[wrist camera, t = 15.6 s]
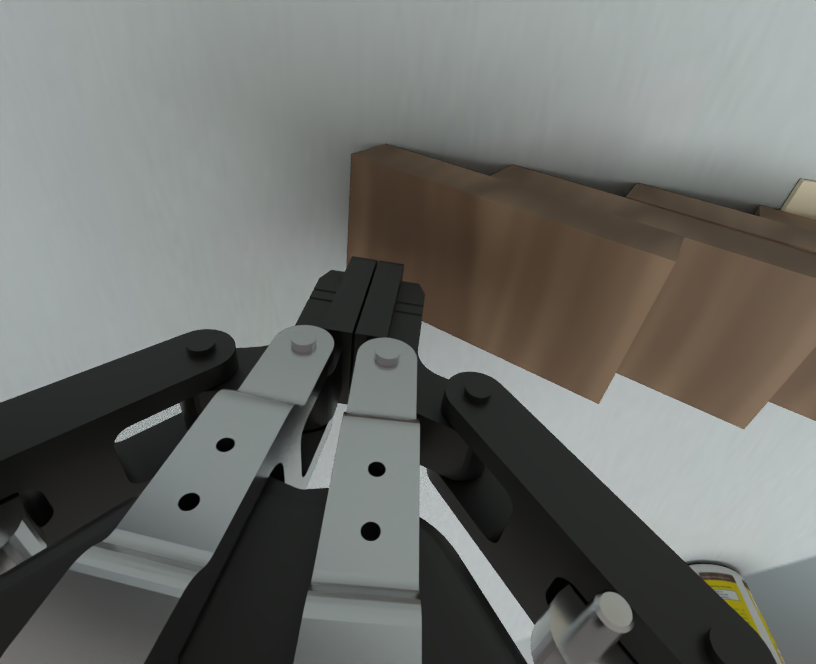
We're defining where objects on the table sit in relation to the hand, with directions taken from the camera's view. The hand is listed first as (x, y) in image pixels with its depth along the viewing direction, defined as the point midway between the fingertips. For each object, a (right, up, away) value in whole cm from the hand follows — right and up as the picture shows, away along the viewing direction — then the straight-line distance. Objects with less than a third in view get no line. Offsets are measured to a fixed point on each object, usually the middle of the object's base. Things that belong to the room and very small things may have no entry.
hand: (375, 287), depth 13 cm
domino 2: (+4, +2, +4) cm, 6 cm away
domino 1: (-1, +3, +4) cm, 5 cm away
